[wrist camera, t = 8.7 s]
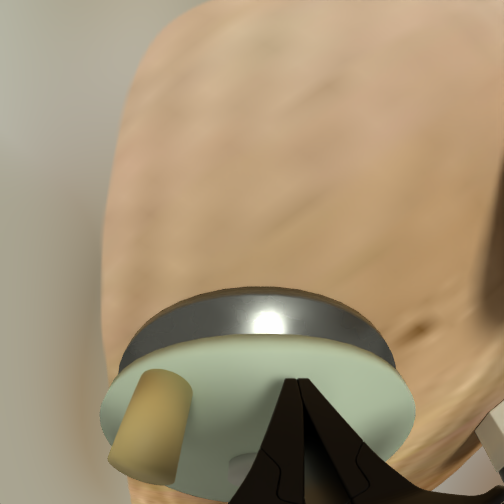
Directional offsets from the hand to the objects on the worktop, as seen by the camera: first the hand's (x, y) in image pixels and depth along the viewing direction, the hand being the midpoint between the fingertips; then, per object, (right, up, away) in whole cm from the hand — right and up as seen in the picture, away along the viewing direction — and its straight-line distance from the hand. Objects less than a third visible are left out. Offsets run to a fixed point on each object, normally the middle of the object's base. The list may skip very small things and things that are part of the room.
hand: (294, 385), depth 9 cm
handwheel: (-1, -8, +5) cm, 10 cm away
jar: (+35, -19, +14) cm, 42 cm away
